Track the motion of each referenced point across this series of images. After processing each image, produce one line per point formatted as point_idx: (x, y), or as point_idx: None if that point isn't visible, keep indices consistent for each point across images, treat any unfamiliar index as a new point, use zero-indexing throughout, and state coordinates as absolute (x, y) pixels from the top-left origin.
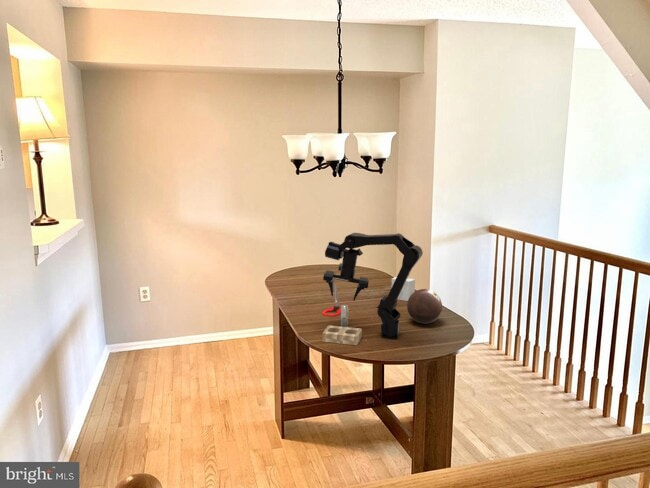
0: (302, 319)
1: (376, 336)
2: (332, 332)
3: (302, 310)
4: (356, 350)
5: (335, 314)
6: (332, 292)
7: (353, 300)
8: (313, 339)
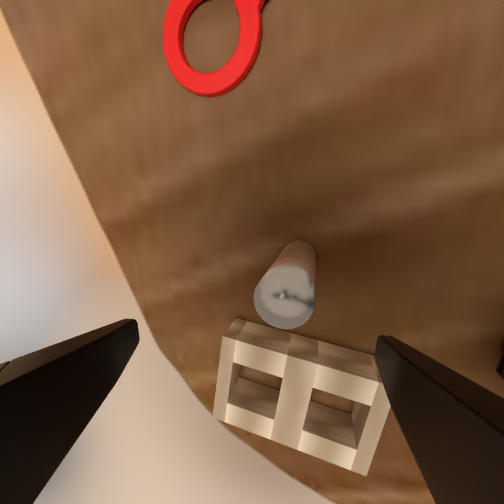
0: (109, 165)
1: (466, 356)
2: (250, 415)
3: (75, 32)
4: (354, 475)
5: (235, 74)
6: (98, 400)
7: (377, 362)
8: (193, 369)
